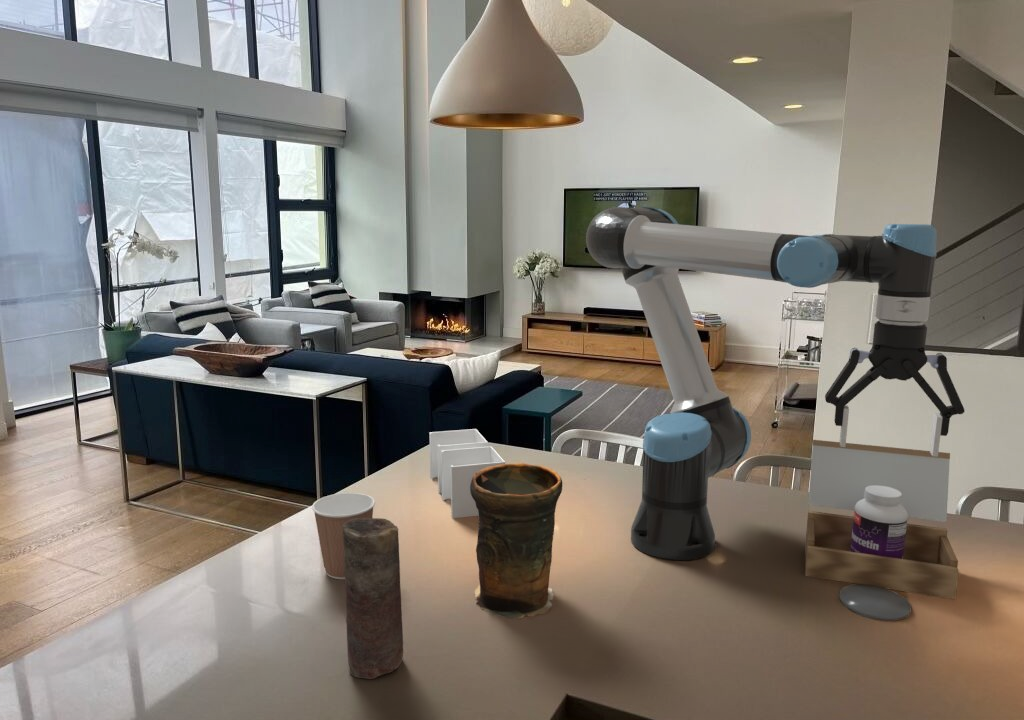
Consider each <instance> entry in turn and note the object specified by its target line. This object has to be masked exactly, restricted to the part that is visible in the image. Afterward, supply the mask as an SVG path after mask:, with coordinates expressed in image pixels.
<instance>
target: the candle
mask: <svg viewBox="0 0 1024 720" xmlns="http://www.w3.org/2000/svg"><path fill="white" fill-rule="evenodd" d="M343 544H344V570H345V579H344V583H345V584H344V586H345V587H344V589H345V591H344V592H345V611H346V613H345V614H346V615H345V616H346V617H345V618H346V619H345V620H346V645H347V665H348V669H349V672H350V674H351V675H352V676H353V677H356V678H357V679H358V678H359V679H362V678H363V679H368V680H373V679H376V678H377V677H379V676H383V675H385V674H390V673H393V672H394V671H395V670H397V669H398V668H399V666H400V665H401V664H402V662H403V657H404V635H403V633H404V632H403V631H404V630H403V613H402V594H401V590H402V589H401V573H400V572H401V568H400V567H401V566H400V563H401V561H400V543H399V527H398V526H397V525H395V524H394V523H393V522H392V521H390V520H388V519H386V518H384V517H383V518H381V517H380V518H379V517H377V518H374V517H372V518H355V519H351V520H349V521H348V522H346V523H345V524H344V525H343Z"/></svg>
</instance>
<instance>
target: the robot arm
mask: <svg viewBox="0 0 1024 720" xmlns="http://www.w3.org/2000/svg"><path fill="white" fill-rule="evenodd" d="M937 234H938V231H937V229H936V227H935V226H933V225H932V224H928V223H925V224H924V223H922V224H921V223H920V224H919V223H917V224H916V223H912V224H911V223H909V224H908V223H888V224H886V225H885V227H884V229H883V232H882V234H881V235H872V236H871V235H869V236H868V235H850V234H849V235H848V234H846V235H845V234H833V233H825V234H814V235H806V234H805V235H802V234H792V233H791V234H788V233H787V234H786V233H781V232H780V233H779V232H767V231H757V230H756V231H755V230H748V229H747V230H746V229H735V228H734V229H733V228H723V227H712V226H711V227H710V226H701V225H690V224H680V223H678V221H677V220H676V219H675V217H673V216H672V214H670V213H669V212H668V211H665V210H663V209H659V208H655V207H653V206H640V207H622V206H616V207H609V208H607V209H604V210H602V211H601V212H599V213H597V214H596V215H595V216H594V217H593V219H592V220H591V221H590V223H589V224H588V227H587V230H586V235H585V242H586V248H587V251H588V252H589V255H590V257H592V259H593V260H594V261H595V262H596V263H598V264H600V265H601V266H603V267H604V268H605V267H606V268H608V269H620V270H621V273H622V277H623V279H624V282H625V284H626V285H628V286H630V287H633V288H634V289H635V290H636V293H637V297H638V299H639V302H640V305H641V308H642V310H643V313H644V316H645V321H646V322H647V326H648V328H649V331H650V334H651V338H652V340H653V342H654V343H653V344H654V346H655V348H656V352H657V354H658V357H659V360H660V363H661V367H662V369H663V372H664V375H665V377H666V380H667V384H668V387H669V390H670V392H671V396H672V398H673V399H672V400H673V401H674V404H673V406H672V407H671V410H670V412H669V413H663V414H660V415H656V416H655V417H653V418H652V419H650V420H649V421H648V422H647V424H646V425H645V429H644V435H643V439H642V448H643V451H642V454H643V455H642V481H641V482H642V483H641V485H642V487H641V502H640V504H639V507H638V509H637V512H636V514H635V517H634V520H633V522H632V524H631V529H630V530H631V531H630V542H631V544H632V545H633V546H634V547H635V548H636V549H637V550H638V551H641V552H642V553H644V554H646V555H649V556H652V557H656V558H658V559H659V558H660V559H664V560H665V559H666V560H672V561H689V560H690V561H691V560H697V559H701V558H704V557H706V556H708V555H710V554H711V553H712V552H713V551H714V549H715V545H716V543H715V541H716V536H715V535H716V534H715V530H714V526H713V524H712V520H711V516H710V513H709V509H708V504H707V503H708V489H709V488H708V486H709V485H708V484H709V478H711V477H713V476H714V475H716V474H718V473H720V472H722V471H724V470H726V469H730V468H732V467H733V466H735V465H736V464H737V463H739V461H740V460H741V459H743V458H744V457H745V455H746V454H747V452H748V451H749V448H750V446H751V441H752V430H751V425H750V423H749V421H748V419H747V418H746V416H745V415H744V414H743V413H742V412H741V411H739V410H738V409H736V407H734V406H733V405H732V403H731V399H730V397H729V395H728V393H726V392H724V391H721V390H720V389H719V388H718V387H717V384H716V381H715V378H714V376H713V371H712V369H711V367H710V363H709V362H708V358H707V355H706V353H705V352H706V351H705V350H704V347H703V343H702V341H701V337H700V335H699V333H698V330H697V326H696V323H695V321H694V319H693V314H692V313H691V310H690V307H689V303H688V301H687V299H686V295H685V293H684V292H685V291H684V289H683V287H682V284H681V281H680V278H679V275H678V274H679V270H680V269H681V270H685V271H687V270H688V271H693V272H694V271H695V272H701V273H702V272H703V273H709V274H710V273H711V274H718V275H719V274H720V275H726V276H735V277H743V278H751V279H758V280H768V281H773V282H774V281H775V282H780V283H785V284H786V283H787V284H789V285H791V286H794V287H797V288H808V289H811V288H815V287H819V286H822V285H828V284H833V283H838V282H851V283H853V282H857V283H858V282H859V283H869V284H871V283H872V284H873V283H876V284H878V290H877V299H876V306H875V307H876V308H875V316H874V317H875V318H876V319H878V321H876V322H875V323H874V327H873V334H872V335H873V338H872V346H871V348H870V350H869V351H867V350H862V349H861V350H860V349H859V348H857V347H853V348H851V349H850V353H849V357H848V360H847V362H846V363H845V365H844V366H843V368H842V370H840V373H839V374H838V375H837V377H836V379H835V380H834V381H833V383H832V384H831V386H830V387H829V389H828V390H827V391H826V393H825V396H824V399H825V402H826V403H827V404H830V405H833V406H835V410H834V420H833V421H834V425H835V426H836V427H840V432H839V433H840V434H839V442H840V447H845V446H846V443H847V435H848V434H847V433H848V423H849V413H850V408H849V405H848V404H849V403H850V402H851V401H852V400H853V399H854V398H856V397H857V396H858V395H859V394H860V393H861V392H862V391H864V390H865V389H866V388H867V387H868V386H869V385H870V384H872V383H873V382H875V381H876V380H877V379H878V378H879V377H881V378H883V379H884V380H895V379H896V380H899V381H907V380H910V379H913V380H914V381H915V382H916V383H917V385H918V386H919V388H921V390H922V392H924V394H926V396H927V398H928V399H930V401H931V402H932V404H933V405H934V406H935V407H936V408H937V410H938V411H939V412H937V413H936V412H934V413H933V420H932V421H933V422H932V429H931V437H930V446H929V451H930V453H931V454H932V456H936V457H938V452H940V451H939V449H940V442H941V436H944V437H946V436H947V435H948V434H949V430H950V429H949V428H950V421H951V420H950V419H951V418H952V417H953V416H955V415H962V414H964V413H965V410H966V409H965V408H964V406H963V402H962V401H961V399H960V395H959V394H958V392H957V389H956V388H955V385H954V383H953V380H952V378H951V376H950V373H949V371H948V363H947V361H948V360H947V357H946V356H945V355H944V354H943V353H941V352H938V353H936V354H926V342H927V334H928V333H927V332H928V326H927V325H926V324H924V323H926V322H927V321H928V320H929V313H930V304H931V295H932V287H933V279H934V278H933V277H934V272H935V266H936V265H935V264H936V258H937V255H938V253H937V237H938V235H937ZM866 359H868V360H869V362H870V363H871V365H872V367H870V368H869V369H868V370H867V371H866V372H865V373H864V374H863V375H862V376H861V377H860V378H858V379H857V381H855V382H854V383H853V384H852V385H850V386H849V388H847V389H846V390H845V391H844V392H843V393H842V394H840V391H841V390H842V388H844V386H845V384H846V383H847V381H848V380H849V378H850V377H851V375H852V374H853V372H854V371H855V370H856V368H857V366H858V364H862V363H863V362H864V360H866ZM927 363H929V364H930V366H931V368H932V369H936V373H937V375H938V377H939V379H940V382H941V384H942V386H943V389H944V390H945V393H946V395H947V397H948V400H949V403H950V404H951V405H948V406H947V405H946V404H945V403H944V402H943V400H942V399H941V398H940V397H939V396H938V394H937V393H936V391H935V390H934V389H933V387H931V386H930V384H929V383H928V381H927V380H926V379H925V378H924V377H923V375H922V374H921V373H920V372H919V371H920V370H921V369H922V368H923V367H924V366H925V365H926V364H927ZM839 394H840V396H838V395H839Z"/></svg>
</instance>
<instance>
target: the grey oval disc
mask: <svg viewBox="0 0 1024 720" xmlns="http://www.w3.org/2000/svg"><path fill="white" fill-rule="evenodd" d="M839 600H840V602H841V604H842V605H844V606H845V608H847V609H848V610H850V611H852V612H853V613H856V614H858V615H861V616H863V617H867V618H869V619H874V620H881V621H899V620H903V619H906V618H908V617H909V616H910V615H911V611H912V607H911V603H910V601H908V599H906V597H904V596H903V595H901V594H899V593H898V592H895V591H893V590H892V589H887V588H882V587H878V586H873V585H864V584H851V585H847V586H844V587H843V588H841V589H840V591H839Z"/></svg>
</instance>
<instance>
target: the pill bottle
mask: <svg viewBox="0 0 1024 720" xmlns="http://www.w3.org/2000/svg"><path fill="white" fill-rule="evenodd" d="M864 497H865V499H862V500H860V501H858V502H857V503H856V505H855V510H853V511H854V512H853V517H854V520H853V529H852V539H851V548H850V552H857V553H864V554H871V555H877V556H884V557H891V558H898V559H903V552H904V544H905V535H906V527H907V524H908V518H909V517H908V514H907V511H906V509H905V508H904V507H903V506H902V505H900V502H901V497H902V494H901V492H900V491H898V490H896V489H893V488H890V487H886V486H876V485H874V486H868V487H866V488H865V493H864Z"/></svg>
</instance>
